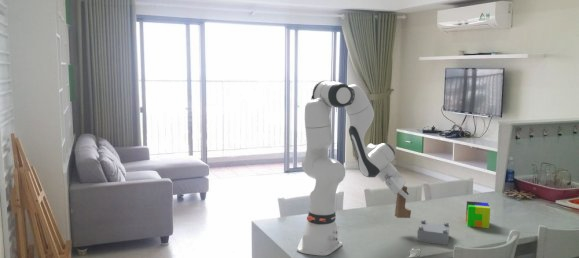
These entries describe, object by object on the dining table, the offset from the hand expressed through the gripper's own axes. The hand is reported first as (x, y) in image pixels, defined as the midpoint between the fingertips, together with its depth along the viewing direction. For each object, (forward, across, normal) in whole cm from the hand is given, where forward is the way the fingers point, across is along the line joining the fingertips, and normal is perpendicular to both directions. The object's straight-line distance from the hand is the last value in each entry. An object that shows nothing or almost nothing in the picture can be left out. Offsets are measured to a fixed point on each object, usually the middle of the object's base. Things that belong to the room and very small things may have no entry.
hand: (407, 196), depth 226 cm
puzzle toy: (+35, +28, -11) cm, 45 cm away
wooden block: (+6, +1, +9) cm, 11 cm away
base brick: (+22, -2, +3) cm, 22 cm away
